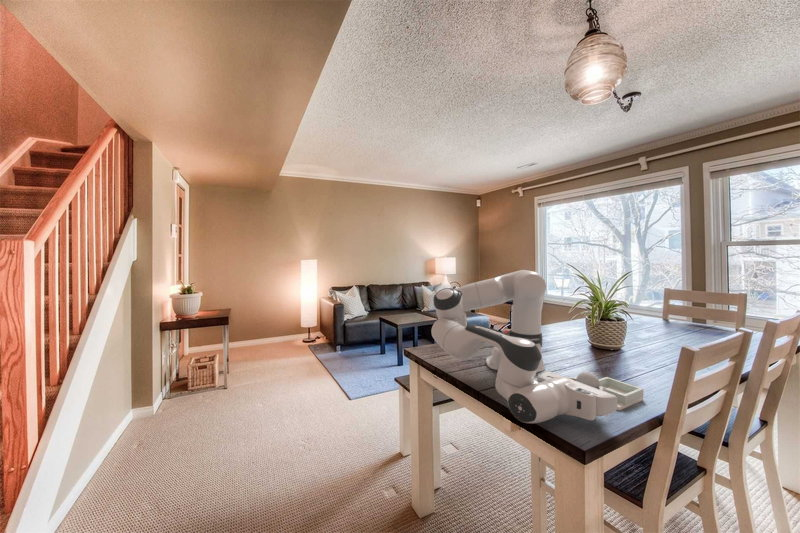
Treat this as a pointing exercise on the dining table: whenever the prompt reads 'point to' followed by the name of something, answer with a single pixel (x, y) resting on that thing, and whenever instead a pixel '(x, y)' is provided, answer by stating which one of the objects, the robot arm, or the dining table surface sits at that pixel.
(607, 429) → the dining table surface
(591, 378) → the light bulb
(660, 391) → the dining table surface
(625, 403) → the housing base
